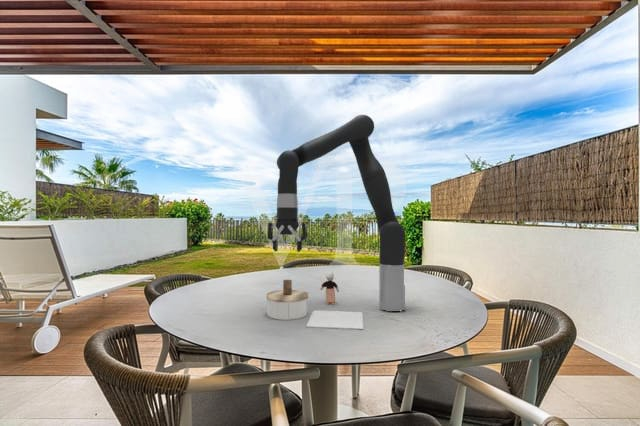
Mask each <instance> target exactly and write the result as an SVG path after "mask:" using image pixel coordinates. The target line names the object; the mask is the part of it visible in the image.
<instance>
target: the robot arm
mask: <svg viewBox="0 0 640 426" xmlns="http://www.w3.org/2000/svg"><path fill="white" fill-rule="evenodd" d="M374 131H375V122H374V120H373V119H372V117H370V116H369V115H367V114H358V115H356V116H355V117H353V118H352V119H350V120H349V121H347V122H345V124H342V125H341V126H339V127H337V128H336V129H334V130H332V131H329V132H328V133H325V134H323V135H320V136H318V137H316V138H313V139H311V140H308V141H306V142H304V143H302V144H301V145H300V146H298V147H296V148H293V149H290V150H289V149H288V150H284V151H282V152H281V154H279V155H278V157H277V160H276V166H277V168H278V170H279V174H278V175H279V178H278V181H277V196H276V197H277V198H276V222H269V223H268V224H267V239H268V240H271V241H272V250H274V252H278V250H279V249H278V247H279V245H278V243H279V241H278V240H279V238H280V237H281V235H283V236H284V235H289V236H290V235H291V236H292V235H293V237H295V239H296V240H297V241H296V242H297V243H296V247H297V249H296V251H297V252H298V253H300V252H301V251H302V250H303V241H304V240H307V239H308V227H307V226H308V225H307V223H306V222H302V223H301V222H300V223H299V219H298V217H299V212H298V210H299V209H298V207H299V204H298V201H299V200H298V183H297V182H298V174H299V167H301V166H304V165H305V164H307V163H310V162H312V161H314V160H318V159H320V158H322V157H324V156H326V155H327V154H330V153H331V152H333V151H334V150H336V149H337V148H339V147H340V146H343V145H345V144H347V143H349V145H350V147H351V149H352V152H353V155H354V157H355V160H356V164H357V167H358V170H359V173H360V177H361V180H362V184H363V188H364V191H365V194H366V196H367V198H368V201H369V203H370V206H371V207H372V210H373V211H374V214H375V215H374V216H375V220H376V223H377V224H376V225H377V229H378V236H379V259H378V260H379V263H378V264H379V265H378V266H379V271H378V272H379V274H378V276H379V278H378V279H379V281H378V282H379V283H378V286H379V287H378V288H379V289H378V291H379V293H378V299H379V302H378V305H379V308H380V309H379V310H381V309H382V310H381V311H383V310H386V311H385V312H387V311H400V310H405V311H406V285H405V258H406V257H405V256H406V231H405V229H404V227H403V225H402V224H400V223H399V220H398V219H397V215H396V213H395V211H394V208H393V201H392V195H391V189H390V184H389V181H388V178H387V175H386V172H385V169H384V168H383V165H382V164H381V163H380V162H379V160H378V159H377V157H375V155H374V152H373V150H372V147H371V143H370V140H369V138H370V137H371V135H372V134H373V132H374ZM275 227H276V228H277V229H276V230H277V231H276V232H275V234H274V229H275ZM298 228H300V229H301V231H302V232H301V234H302V236H301V235H300V233H299V231H298ZM400 312H401V311H400Z"/></svg>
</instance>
